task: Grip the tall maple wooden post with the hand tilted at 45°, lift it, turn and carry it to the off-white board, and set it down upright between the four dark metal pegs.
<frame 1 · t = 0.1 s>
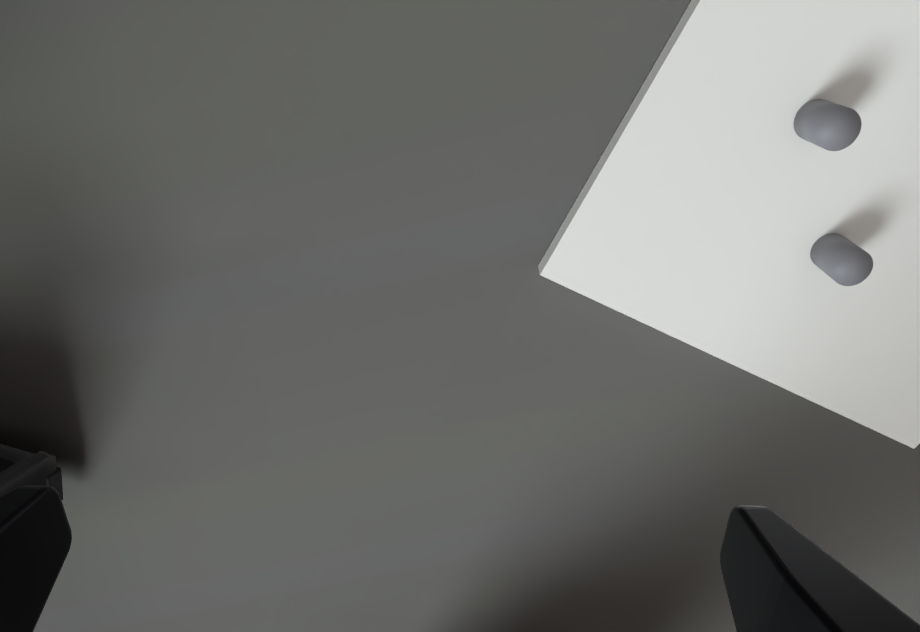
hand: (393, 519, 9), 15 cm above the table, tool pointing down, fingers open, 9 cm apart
peg board: (881, 159, 21), on the table
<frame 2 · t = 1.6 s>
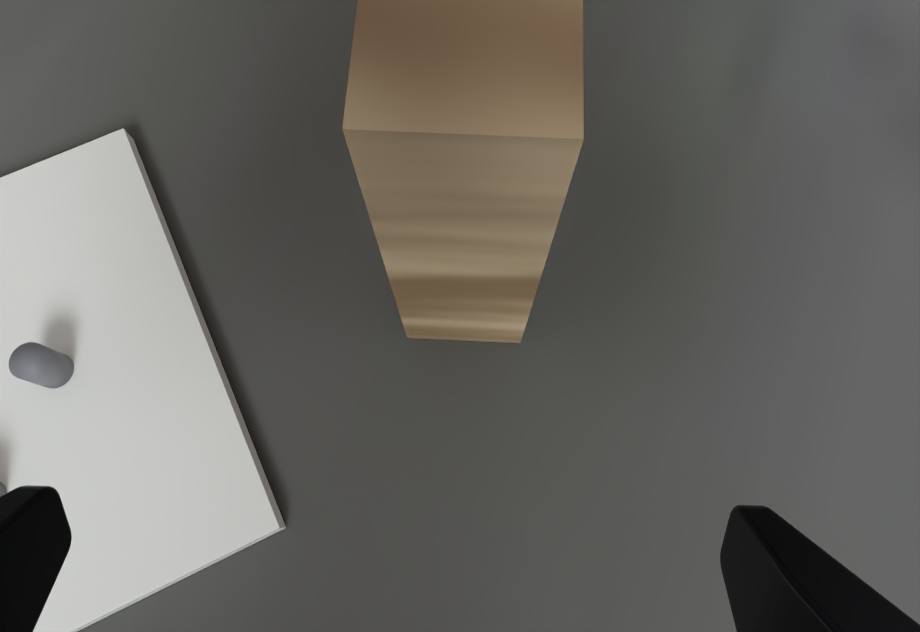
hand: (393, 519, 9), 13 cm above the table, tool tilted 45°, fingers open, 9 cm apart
maple post: (466, 286, 24), on the table
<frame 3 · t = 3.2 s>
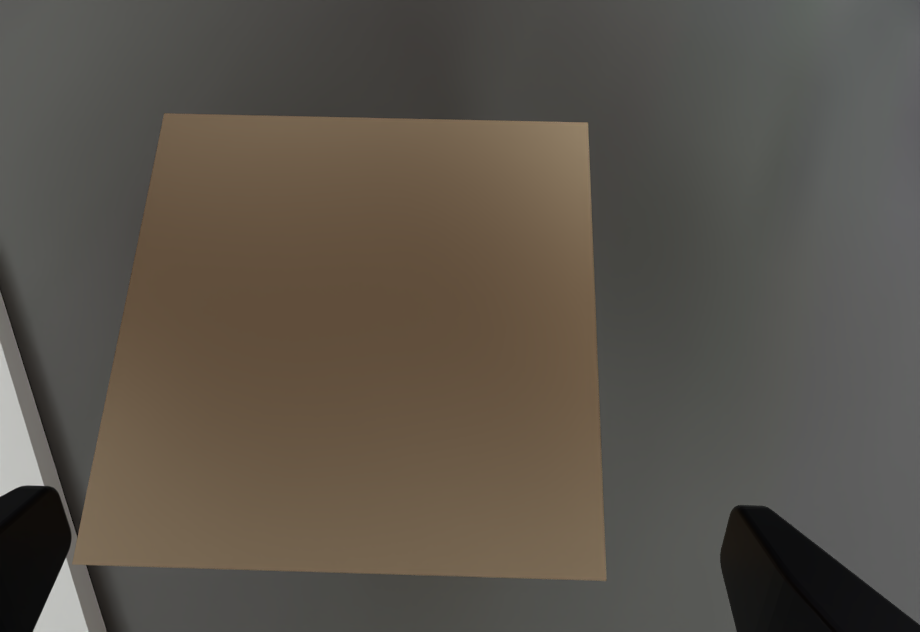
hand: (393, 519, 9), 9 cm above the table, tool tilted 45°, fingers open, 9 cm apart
maple post: (430, 474, 18), on the table
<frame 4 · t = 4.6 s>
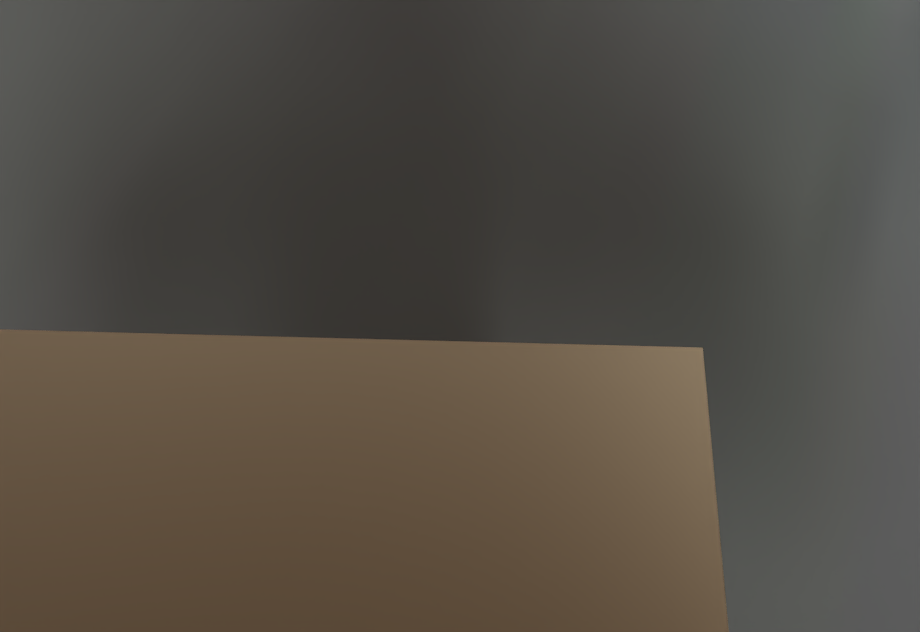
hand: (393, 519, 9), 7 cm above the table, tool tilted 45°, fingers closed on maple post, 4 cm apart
maple post: (419, 593, 15), on the table, touching gripper
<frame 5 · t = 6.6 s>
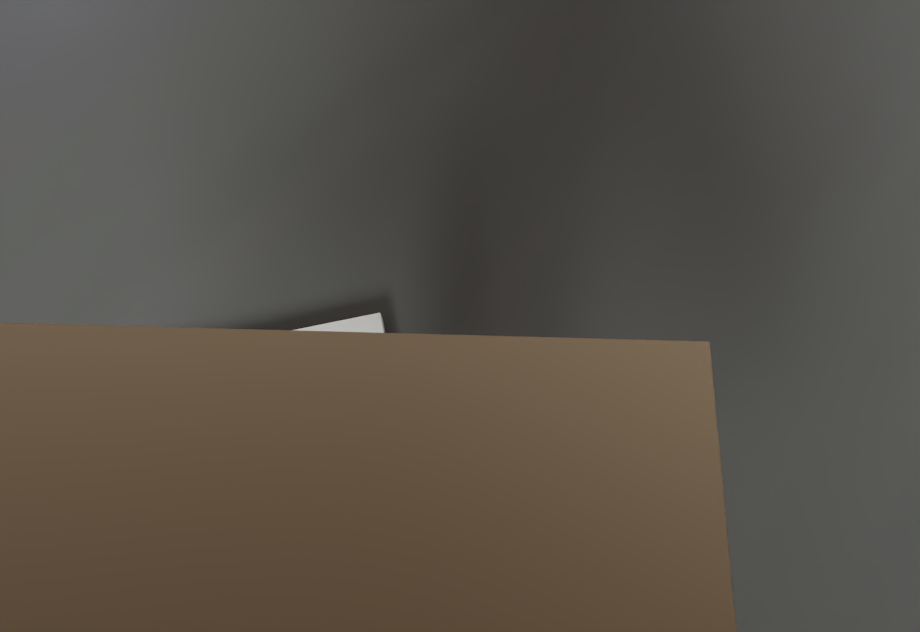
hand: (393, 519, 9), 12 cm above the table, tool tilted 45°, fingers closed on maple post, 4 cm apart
maple post: (421, 591, 15), point 6 cm above the table, touching gripper
peg board: (165, 621, 20), on the table
when the fingers open (9 cm above the table, at t = 8.4 s): maple post drops 1 cm, resting on peg board.
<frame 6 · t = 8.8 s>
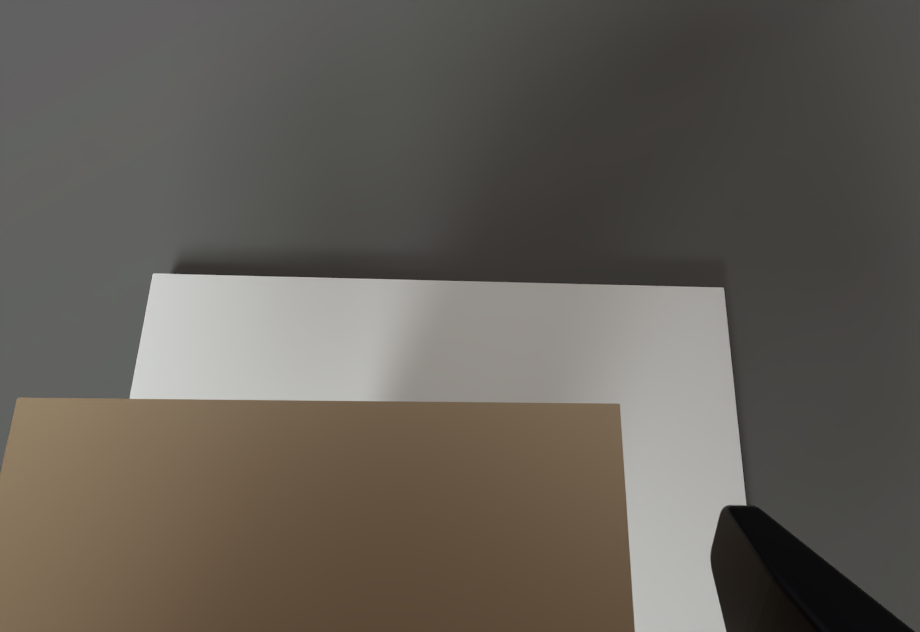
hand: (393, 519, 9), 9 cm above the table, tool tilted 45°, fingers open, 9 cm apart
maple post: (422, 587, 16), point 1 cm above the table, touching peg board
peg board: (425, 586, 17), on the table
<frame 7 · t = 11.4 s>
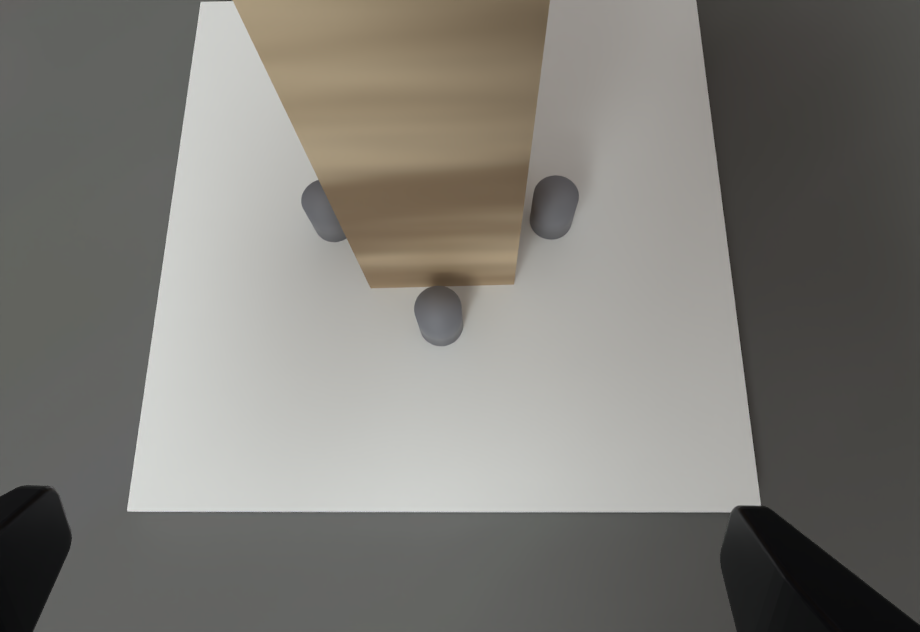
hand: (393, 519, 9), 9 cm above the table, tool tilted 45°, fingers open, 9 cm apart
maple post: (441, 221, 19), point 1 cm above the table, touching peg board
peg board: (444, 233, 20), on the table
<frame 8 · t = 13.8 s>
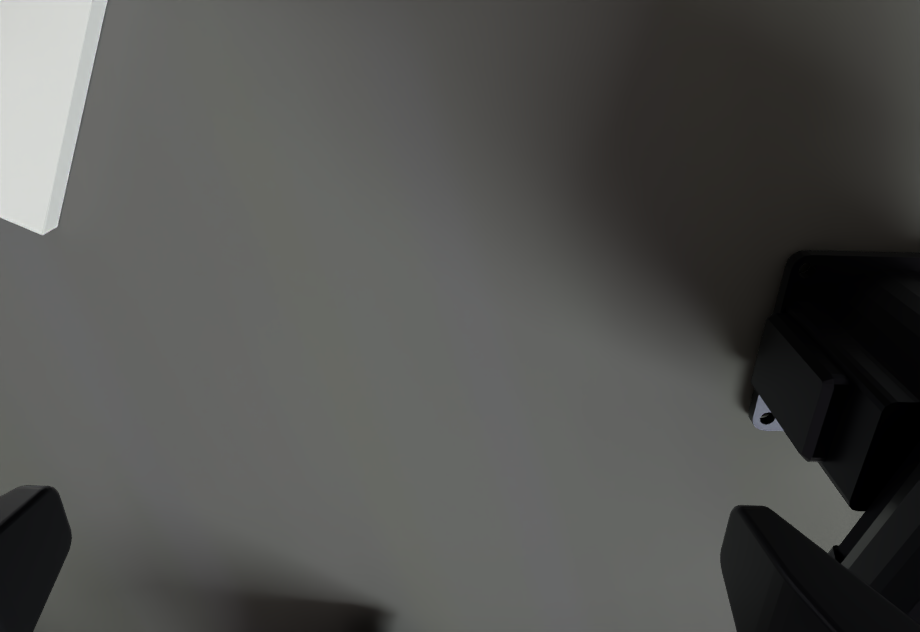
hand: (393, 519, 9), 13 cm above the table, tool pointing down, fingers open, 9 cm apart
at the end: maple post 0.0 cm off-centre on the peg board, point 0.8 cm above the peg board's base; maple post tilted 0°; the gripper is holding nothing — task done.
